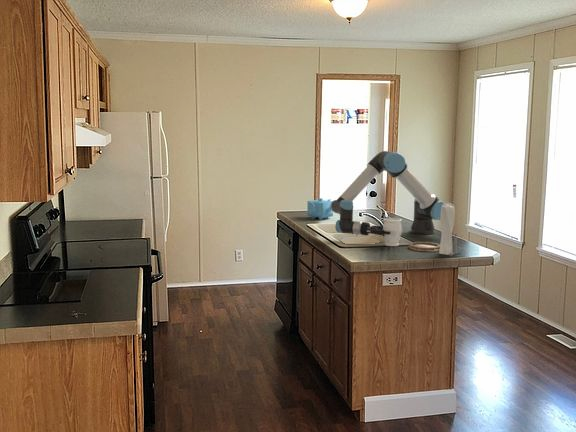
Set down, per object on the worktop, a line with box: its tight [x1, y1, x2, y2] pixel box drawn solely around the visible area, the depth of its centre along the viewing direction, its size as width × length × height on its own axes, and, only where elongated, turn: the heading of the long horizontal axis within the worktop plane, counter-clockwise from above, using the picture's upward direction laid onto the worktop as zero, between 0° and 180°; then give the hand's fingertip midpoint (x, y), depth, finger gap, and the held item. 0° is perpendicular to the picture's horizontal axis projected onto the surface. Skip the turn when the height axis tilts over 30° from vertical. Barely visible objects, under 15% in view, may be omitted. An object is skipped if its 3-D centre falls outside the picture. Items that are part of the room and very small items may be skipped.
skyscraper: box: [438, 202, 458, 256], centre depth 322 cm, size 8×8×28 cm
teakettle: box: [306, 197, 334, 221], centre depth 437 cm, size 19×19×15 cm
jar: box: [382, 217, 403, 247], centre depth 344 cm, size 11×10×15 cm
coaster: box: [408, 241, 440, 253], centre depth 336 cm, size 17×17×2 cm
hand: (399, 231), depth 342 cm, fingers closed on jar, 10 cm apart
